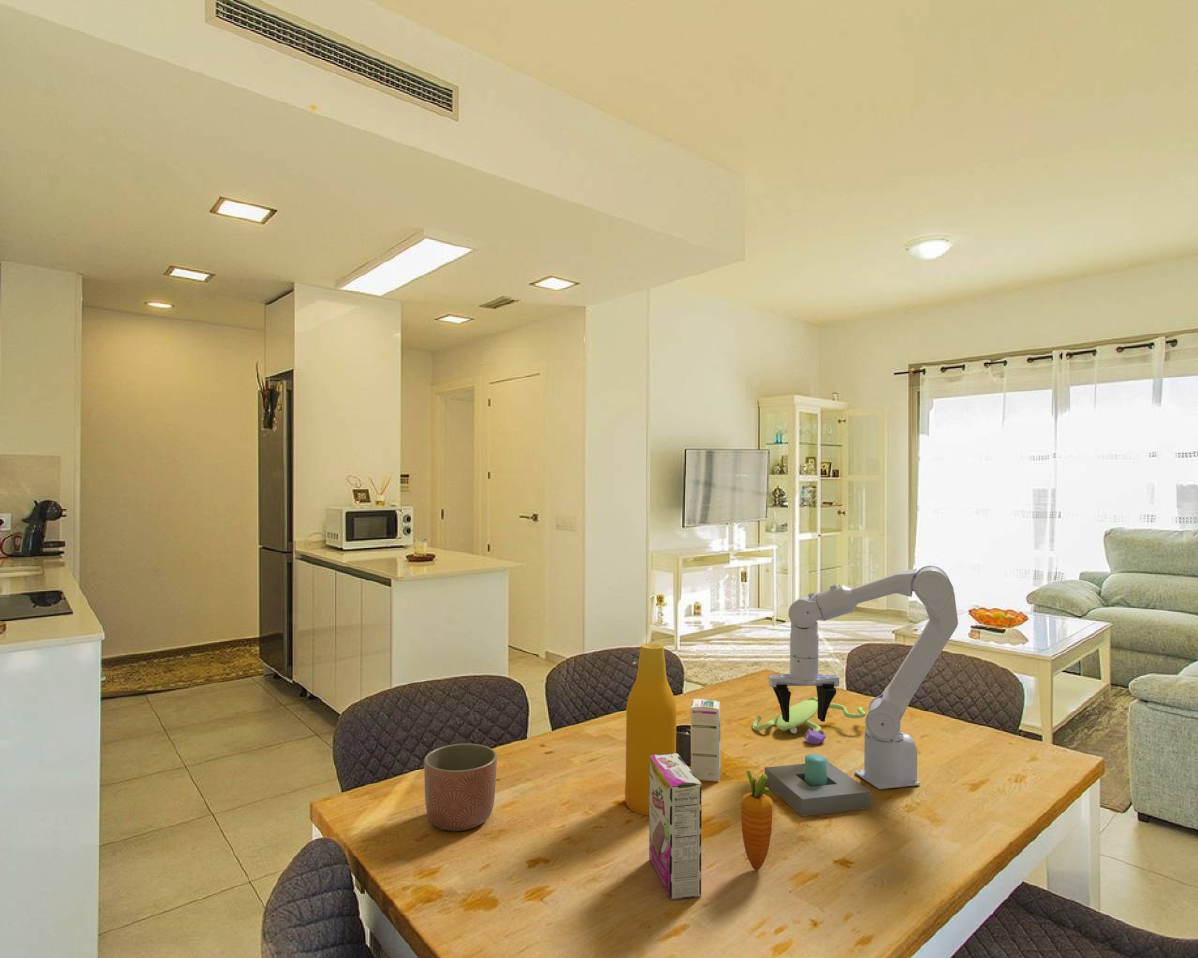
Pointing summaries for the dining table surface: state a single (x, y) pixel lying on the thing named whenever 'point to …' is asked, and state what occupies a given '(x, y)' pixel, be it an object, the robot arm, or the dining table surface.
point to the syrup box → (705, 739)
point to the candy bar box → (675, 825)
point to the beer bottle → (648, 724)
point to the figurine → (804, 719)
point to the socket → (817, 790)
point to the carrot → (756, 821)
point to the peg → (815, 770)
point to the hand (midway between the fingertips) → (803, 720)
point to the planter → (460, 785)
